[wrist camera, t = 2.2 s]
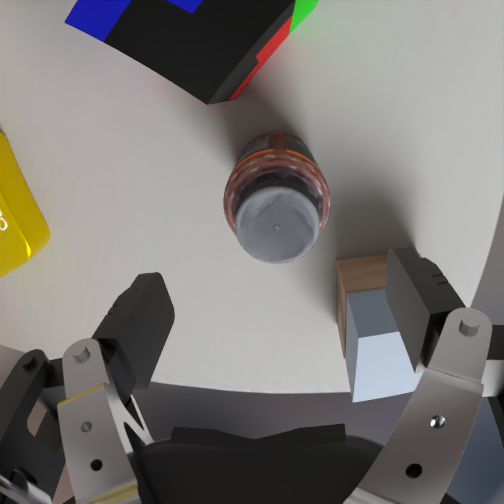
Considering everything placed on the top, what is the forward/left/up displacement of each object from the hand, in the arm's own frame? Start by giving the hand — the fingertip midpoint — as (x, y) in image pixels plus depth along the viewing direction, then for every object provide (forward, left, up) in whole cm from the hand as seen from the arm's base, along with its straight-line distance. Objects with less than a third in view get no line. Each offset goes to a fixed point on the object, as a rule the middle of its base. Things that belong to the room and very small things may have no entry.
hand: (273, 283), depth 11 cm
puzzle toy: (-13, -2, -16) cm, 21 cm away
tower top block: (+13, +8, -11) cm, 19 cm away
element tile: (-3, -33, -16) cm, 37 cm away
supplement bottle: (0, 0, -16) cm, 16 cm away
